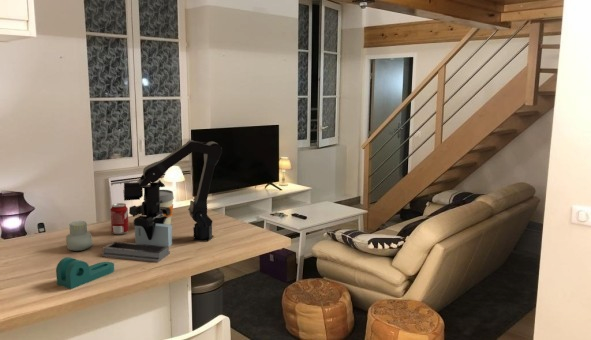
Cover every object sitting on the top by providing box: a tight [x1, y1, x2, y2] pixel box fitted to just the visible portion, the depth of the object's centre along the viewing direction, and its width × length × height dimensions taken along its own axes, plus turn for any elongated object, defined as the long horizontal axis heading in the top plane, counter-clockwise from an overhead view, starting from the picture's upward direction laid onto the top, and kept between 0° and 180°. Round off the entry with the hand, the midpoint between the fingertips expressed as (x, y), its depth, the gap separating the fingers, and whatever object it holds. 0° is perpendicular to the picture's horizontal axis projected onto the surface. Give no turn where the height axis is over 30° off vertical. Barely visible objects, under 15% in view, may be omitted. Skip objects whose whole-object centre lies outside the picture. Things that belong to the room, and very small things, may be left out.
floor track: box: [101, 241, 171, 263], centre depth 179 cm, size 22×9×3 cm, turn 78°
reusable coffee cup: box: [143, 189, 175, 225], centre depth 213 cm, size 13×13×15 cm
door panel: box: [134, 223, 173, 248], centre depth 191 cm, size 14×3×8 cm, turn 78°
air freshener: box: [65, 220, 93, 252], centre depth 184 cm, size 11×8×10 cm
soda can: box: [109, 202, 130, 236], centre depth 203 cm, size 7×7×12 cm
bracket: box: [55, 256, 115, 290], centre depth 158 cm, size 18×7×8 cm, turn 150°
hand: (153, 237), depth 191 cm, fingers open, 5 cm apart
